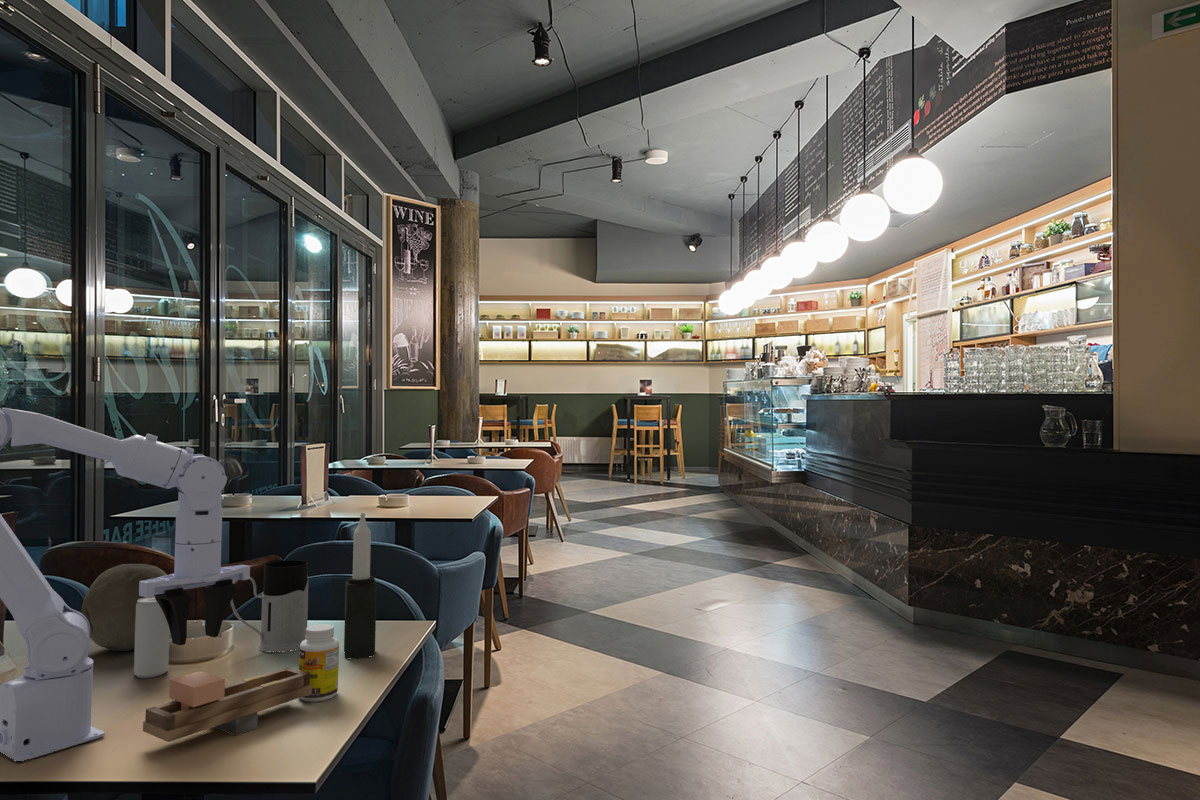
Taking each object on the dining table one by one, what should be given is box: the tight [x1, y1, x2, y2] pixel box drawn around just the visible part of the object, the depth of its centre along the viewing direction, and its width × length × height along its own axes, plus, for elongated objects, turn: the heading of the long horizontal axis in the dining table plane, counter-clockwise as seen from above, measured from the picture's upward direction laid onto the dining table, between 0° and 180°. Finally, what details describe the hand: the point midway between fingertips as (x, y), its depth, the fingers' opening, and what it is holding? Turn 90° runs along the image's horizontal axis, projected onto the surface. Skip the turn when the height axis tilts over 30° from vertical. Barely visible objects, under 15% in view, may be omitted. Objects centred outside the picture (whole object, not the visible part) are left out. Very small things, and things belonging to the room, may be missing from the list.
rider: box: [168, 670, 226, 710], centre depth 95 cm, size 4×6×4 cm
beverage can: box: [133, 596, 170, 679], centre depth 120 cm, size 5×5×12 cm
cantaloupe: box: [81, 563, 168, 652], centre depth 134 cm, size 14×14×15 cm
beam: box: [142, 666, 312, 743], centre depth 99 cm, size 20×6×5 cm, turn 148°
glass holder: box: [230, 559, 309, 653], centre depth 135 cm, size 9×14×15 cm, turn 137°
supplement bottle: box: [298, 623, 340, 703], centre depth 111 cm, size 6×6×10 cm
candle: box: [343, 512, 378, 659], centre depth 132 cm, size 5×5×25 cm
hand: (195, 639), depth 103 cm, fingers open, 4 cm apart
